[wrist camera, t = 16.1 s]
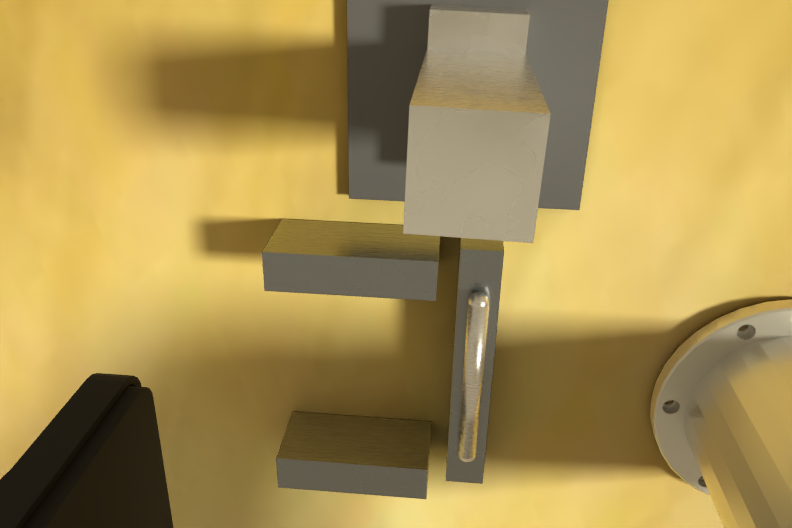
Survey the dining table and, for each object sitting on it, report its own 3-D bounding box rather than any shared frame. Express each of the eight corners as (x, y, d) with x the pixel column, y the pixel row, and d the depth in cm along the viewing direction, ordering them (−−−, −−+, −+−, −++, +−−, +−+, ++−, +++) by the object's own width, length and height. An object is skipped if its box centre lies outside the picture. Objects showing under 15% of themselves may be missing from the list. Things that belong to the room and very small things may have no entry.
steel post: (526, 9, 30) (558, 59, 20) (508, 167, 33) (527, 286, 23) (431, 4, 31) (411, 51, 20) (422, 161, 34) (401, 276, 23)
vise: (501, 230, 36) (505, 265, 32) (481, 453, 42) (482, 503, 38) (282, 218, 36) (261, 251, 33) (294, 439, 42) (278, 487, 39)
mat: (611, -44, 30) (614, -43, 29) (577, 205, 35) (579, 210, 34) (348, -50, 31) (346, -49, 30) (350, 194, 35) (348, 198, 35)
